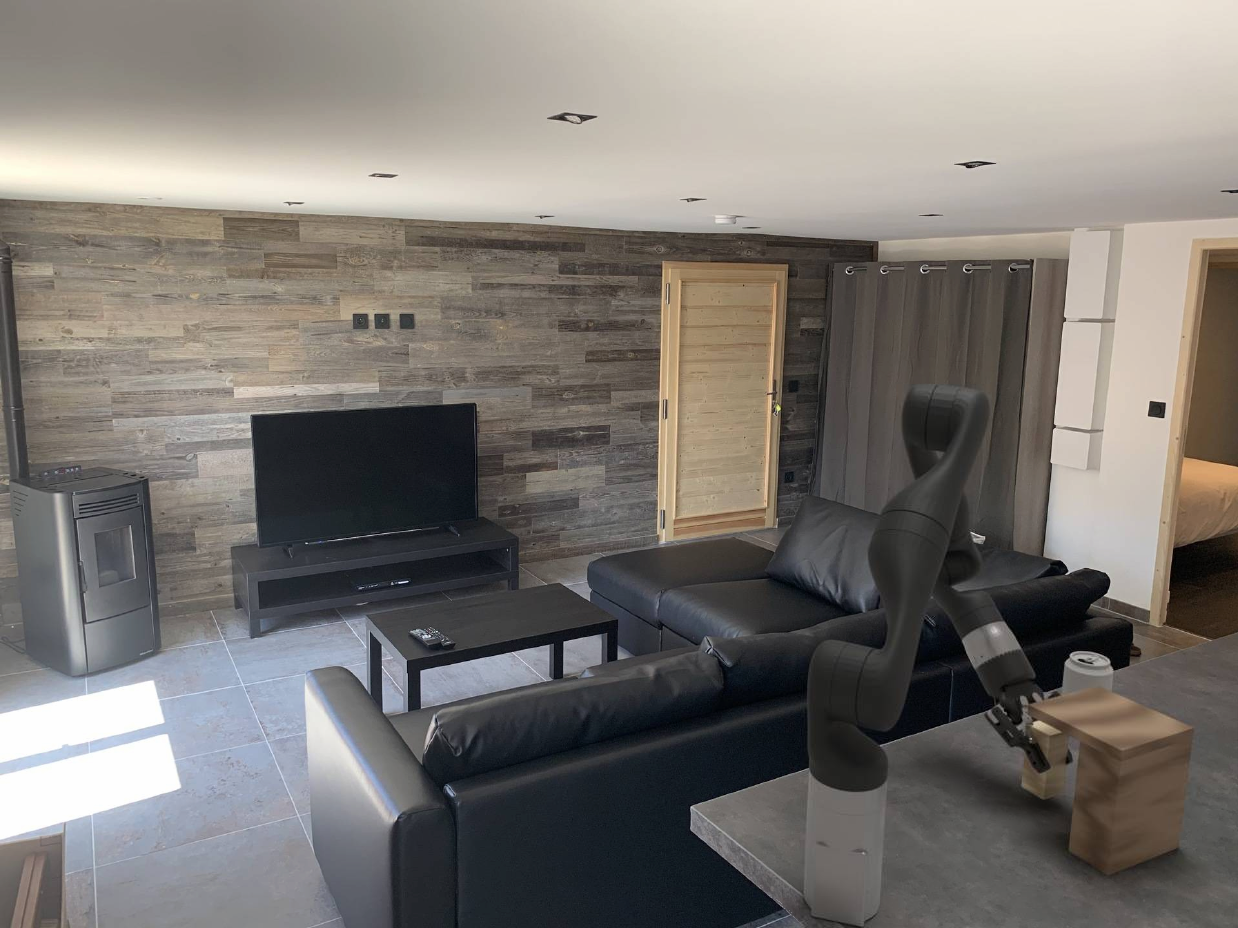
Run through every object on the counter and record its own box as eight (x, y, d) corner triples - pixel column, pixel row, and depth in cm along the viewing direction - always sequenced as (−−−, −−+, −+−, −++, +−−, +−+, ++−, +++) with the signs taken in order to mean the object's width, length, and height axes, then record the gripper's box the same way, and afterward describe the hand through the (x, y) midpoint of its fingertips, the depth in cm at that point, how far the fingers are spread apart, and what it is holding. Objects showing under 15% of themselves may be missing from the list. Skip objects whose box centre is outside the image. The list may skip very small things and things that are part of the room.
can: (1049, 717, 169) (1055, 652, 166) (1080, 709, 172) (1086, 645, 169) (1086, 736, 162) (1093, 668, 160) (1117, 727, 165) (1124, 661, 163)
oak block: (1021, 786, 143) (1027, 723, 141) (1040, 780, 145) (1046, 718, 143) (1043, 799, 140) (1049, 735, 138) (1063, 793, 141) (1069, 729, 139)
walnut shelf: (1017, 818, 138) (1028, 704, 134) (1086, 795, 144) (1097, 685, 140) (1107, 875, 125) (1122, 750, 121) (1178, 847, 131) (1194, 727, 127)
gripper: (977, 655, 142) (1037, 770, 134) (1046, 640, 148) (1108, 748, 140) (948, 676, 148) (1004, 786, 139) (1016, 660, 154) (1073, 765, 145)
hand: (1056, 767), depth 140 cm, fingers closed on oak block, 4 cm apart
